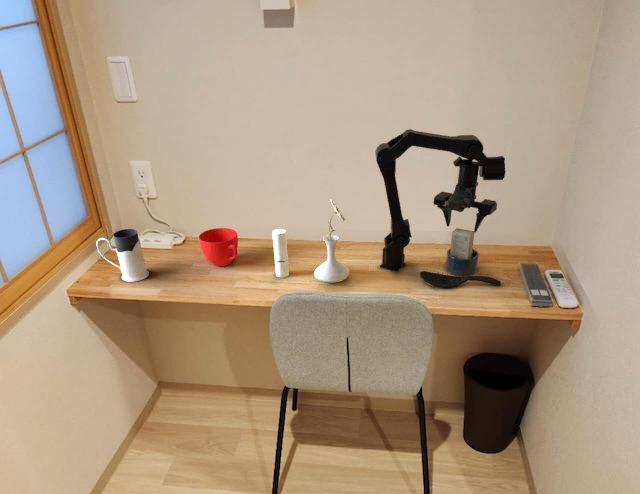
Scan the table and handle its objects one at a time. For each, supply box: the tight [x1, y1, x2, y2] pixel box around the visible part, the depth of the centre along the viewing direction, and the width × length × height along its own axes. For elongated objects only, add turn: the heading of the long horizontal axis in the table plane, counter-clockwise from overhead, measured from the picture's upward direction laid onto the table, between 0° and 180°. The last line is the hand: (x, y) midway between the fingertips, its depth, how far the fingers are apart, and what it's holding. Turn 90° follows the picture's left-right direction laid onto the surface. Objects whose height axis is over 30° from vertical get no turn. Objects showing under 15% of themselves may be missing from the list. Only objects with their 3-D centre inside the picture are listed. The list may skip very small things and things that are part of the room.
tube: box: [271, 228, 290, 278], centre depth 176 cm, size 4×4×15 cm
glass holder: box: [95, 228, 150, 283], centre depth 179 cm, size 9×14×15 cm, turn 94°
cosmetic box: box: [449, 227, 475, 259], centre depth 177 cm, size 6×4×12 cm
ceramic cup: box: [198, 227, 239, 267], centre depth 186 cm, size 13×17×10 cm
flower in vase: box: [313, 198, 350, 284], centre depth 171 cm, size 13×11×25 cm
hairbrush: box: [419, 269, 502, 290], centre depth 171 cm, size 8×4×25 cm
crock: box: [444, 248, 480, 276], centre depth 179 cm, size 10×10×6 cm
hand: (461, 229), depth 175 cm, fingers open, 9 cm apart
